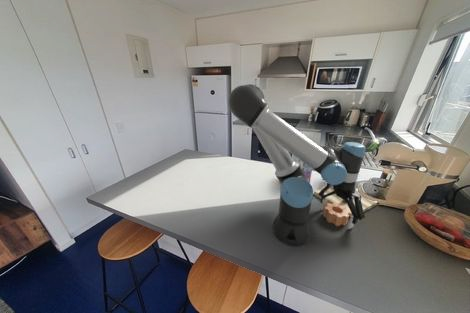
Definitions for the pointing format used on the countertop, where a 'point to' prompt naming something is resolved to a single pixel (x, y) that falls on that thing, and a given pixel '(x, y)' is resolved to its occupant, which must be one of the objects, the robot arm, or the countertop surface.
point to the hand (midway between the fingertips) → (335, 218)
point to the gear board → (339, 200)
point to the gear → (336, 214)
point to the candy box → (305, 168)
